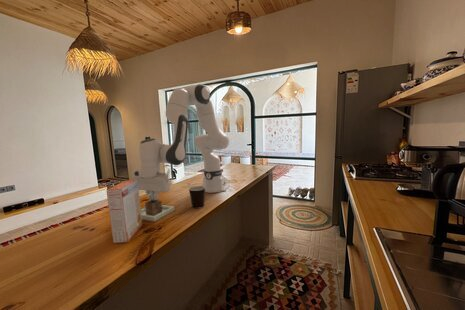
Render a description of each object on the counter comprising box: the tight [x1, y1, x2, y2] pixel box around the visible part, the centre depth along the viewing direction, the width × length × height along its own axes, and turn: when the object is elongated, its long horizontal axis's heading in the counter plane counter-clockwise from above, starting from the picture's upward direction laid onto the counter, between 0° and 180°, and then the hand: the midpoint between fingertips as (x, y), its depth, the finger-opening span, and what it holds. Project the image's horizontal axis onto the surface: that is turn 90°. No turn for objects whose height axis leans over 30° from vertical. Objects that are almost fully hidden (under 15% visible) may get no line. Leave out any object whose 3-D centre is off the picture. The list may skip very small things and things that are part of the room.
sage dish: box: [141, 204, 175, 223], centre depth 100 cm, size 14×14×2 cm
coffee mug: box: [188, 185, 206, 209], centre depth 110 cm, size 12×9×10 cm
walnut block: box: [144, 199, 163, 216], centre depth 100 cm, size 5×5×6 cm
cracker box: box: [106, 179, 143, 244], centre depth 80 cm, size 14×6×21 cm, turn 3°
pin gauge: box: [150, 191, 155, 203], centre depth 99 cm, size 2×2×12 cm
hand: (152, 199), depth 99 cm, fingers closed on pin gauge, 2 cm apart
